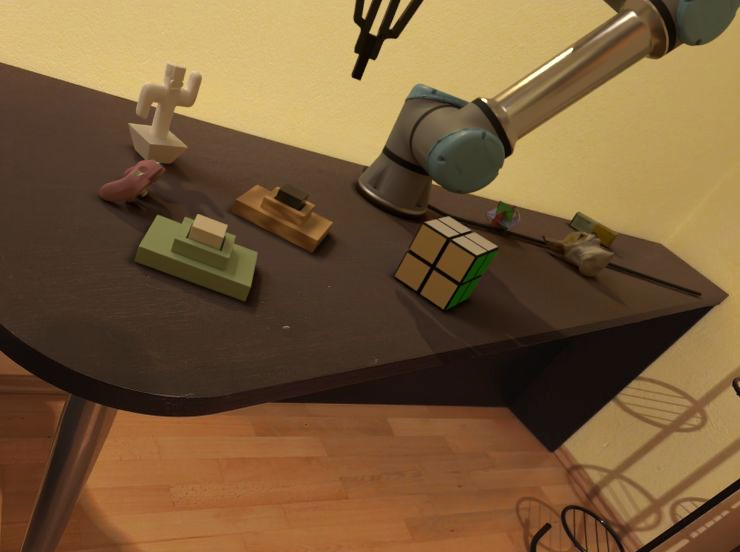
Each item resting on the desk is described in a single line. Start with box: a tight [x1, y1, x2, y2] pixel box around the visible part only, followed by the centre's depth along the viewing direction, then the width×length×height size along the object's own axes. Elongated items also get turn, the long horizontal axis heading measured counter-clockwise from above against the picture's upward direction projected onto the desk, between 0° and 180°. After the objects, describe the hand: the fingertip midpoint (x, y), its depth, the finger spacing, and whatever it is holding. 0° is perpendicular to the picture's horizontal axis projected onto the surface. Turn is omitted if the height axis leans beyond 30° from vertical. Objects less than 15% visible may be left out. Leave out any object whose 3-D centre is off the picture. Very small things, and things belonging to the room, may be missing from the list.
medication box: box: [568, 211, 619, 248], centre depth 172 cm, size 12×3×4 cm, turn 46°
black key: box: [275, 182, 310, 211], centre depth 99 cm, size 4×4×2 cm
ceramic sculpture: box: [541, 230, 615, 278], centre depth 142 cm, size 11×9×15 cm
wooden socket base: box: [231, 184, 334, 253], centre depth 100 cm, size 14×10×4 cm
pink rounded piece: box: [98, 159, 166, 203], centre depth 88 cm, size 10×5×7 cm, turn 168°
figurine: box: [127, 61, 203, 165], centre depth 100 cm, size 7×9×15 cm
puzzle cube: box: [393, 216, 500, 312], centre depth 100 cm, size 10×10×10 cm
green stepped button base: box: [134, 214, 259, 302], centre depth 80 cm, size 14×10×4 cm
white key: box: [188, 213, 229, 250], centre depth 78 cm, size 4×4×2 cm
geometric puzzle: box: [484, 199, 521, 236], centre depth 142 cm, size 7×7×8 cm
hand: (355, 77), depth 102 cm, fingers closed
